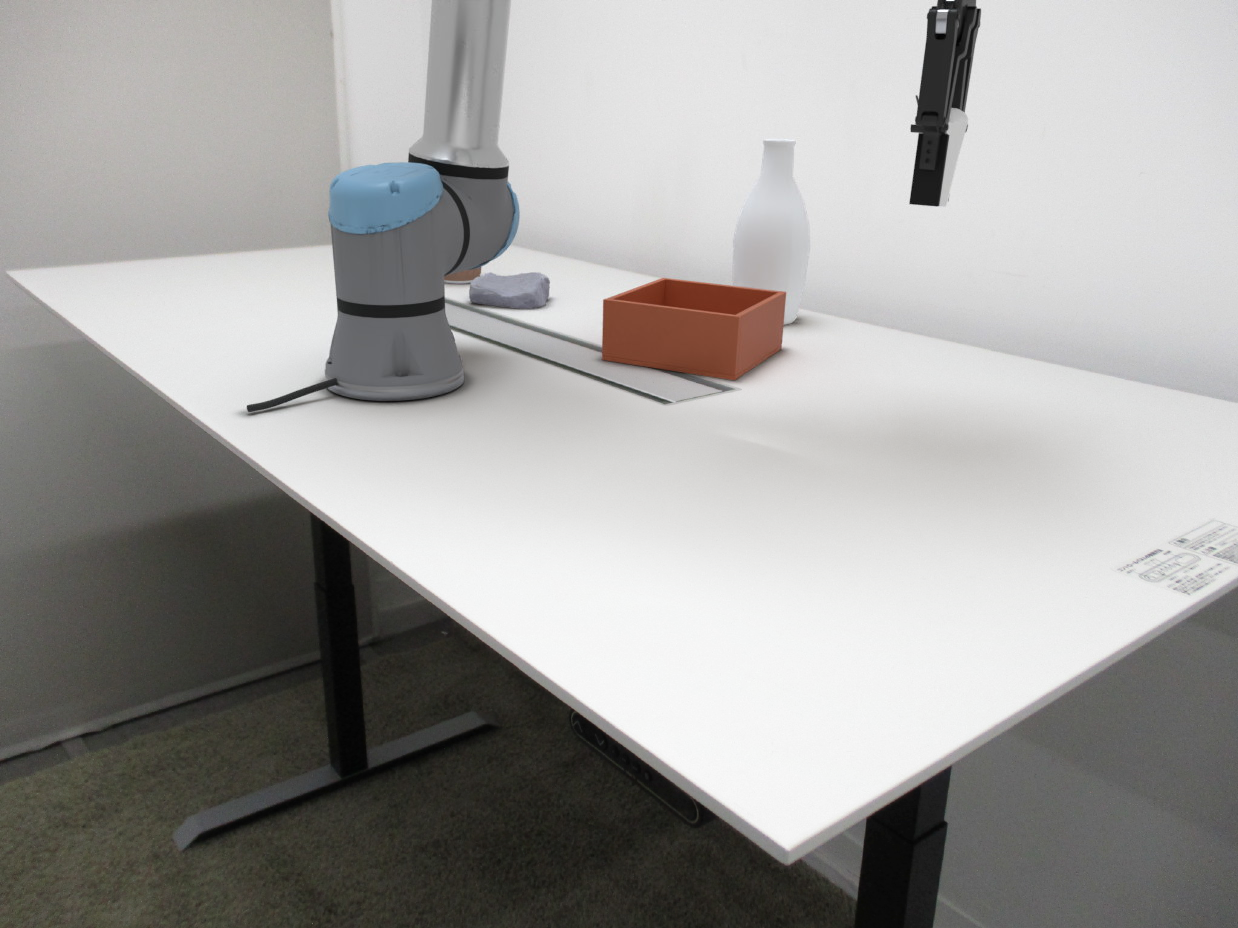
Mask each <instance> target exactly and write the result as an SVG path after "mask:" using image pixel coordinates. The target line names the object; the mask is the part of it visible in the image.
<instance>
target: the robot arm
mask: <svg viewBox="0 0 1238 928" xmlns="http://www.w3.org/2000/svg"><path fill="white" fill-rule="evenodd" d="M511 6H512V0H431V7H430V8H431V10H430V23H429V37H428V39H429V40H428V51H427V52H428V53H427V54H428V55H427V67H426V84H425V85H426V88H425V101H424V115H423V116H424V117H423V129H422V130H423V132H422V136H421V137H420V138H419V139H417V141H415V143H413V144H412V145H411V146H410V147H409V148H408V159H407V161H406V162H404V161H403V162H398V161H397V162H383V163H379V164H366V165H360V166H355V167H353V168H349V169H346V170H344V171H342V172H340V173H338V174H337V175H336V176H334V178H333V179H332V180H331V182H330V186H329V207H328V212H327V213H328V214H327V217H328V220H329V221H328V222H329V223H330V233H331V235H330V236H331V246H332V258H333V270H334V271H333V272H334V283H335V297H336V310H337V316H336V317H337V318H336V323H335V327H334V329H333V330H334V331H333V334H332V337H331V338H332V339H331V342H330V347H329V353H328V358H327V359H326V362H325V369H324V378H325V380H324V381H321V382H318V383H315V384H312V385H309V386H306V387H303V388H300V389H297V390H295V391H291V392H289V393H287V394H283V395H282V396H278V397H275V398H273V399H269V400H266V401H261V402H256V403H250V404H247V405H246V410H247V413H253V412H258V411H263V410H267V409H271V408H275V407H278V406H280V405H284V404H287V403H289V402H291V401H294V400H296V399H299V398H302V397H304V396H307V395H310V394H314V393H317V392H319V391H323V390H326V389H328V390H329V391H330V392H332V393H334V394H337V395H340V396H342V397H345V398H351V399H356V400H364V401H377V402H378V401H379V402H395V401H397V402H399V401H412V400H419V399H420V400H421V399H426V398H430V397H431V398H432V397H436V396H440V395H444V394H447V393H450V392H452V391H454V390H456V389H458V388H459V387H460V386H462V385H463V383H464V382H465V366H464V362H463V358H462V356H461V355H460V353H459V350H458V347H457V343H456V339H455V336H454V333H453V331H452V329H451V326H450V325H451V324H450V323H449V320H448V317H447V311H446V296H445V295H446V291H445V282H444V276H447V275H451V274H454V273H458V272H461V271H465V270H473V269H476V268H479V267H481V266H482V267H484V266H486V265H488V264H489V263H490V262H492V261H494V260H496V259H498V258H499V257H500V256H502V255H503V254H504V253H505V252H506V251H507V250H508V249H509V247H510V246H511V245H512V243H513V242H514V240H515V238H516V235H517V232H518V230H519V226H520V216H521V215H520V212H521V211H520V203H519V200H518V195H517V193H516V192H515V191H514V190H513V188H512V184H511V183H510V181H509V171H510V159H508V158H507V156H506V155H505V153H504V152H503V151H502V149H501V148H500V146H499V138H500V125H501V116H502V107H503V106H502V105H503V96H504V95H503V93H504V84H505V83H504V82H505V73H506V72H505V71H506V62H507V61H506V60H507V52H508V42H509V41H508V38H509V31H510V18H511ZM981 18H982V8H981V7H980V8H978V6H977V0H937V1H936V5H933V6H931V8H929V9H928V12H927V13H926V19H927V21H926V35H925V36H926V37H925V45H924V46H925V47H924V53H923V60H922V61H923V62H922V68H921V77H920V87H919V93H918V105H917V108H916V116H915V118H914V121H915V122H914V124H913V123H912V124H910V133H917V143H916V151H915V156H914V157H915V159H914V166H913V174H912V181H911V187H910V195H909V202H908V204H909V205H915V206H922V205H925V206H924V207H931V206H937V207H936V208H939V207H938V206H939V204H940V197H941V190H942V183H943V177H944V170H945V163H946V156H947V149H948V142H949V135H944V134H946V133H947V130H948V128H949V125H948V123H949V117H950V112H951V108H957V109H960V110H961V111H963V112H964V113H965V114H966V108H967V101H968V95H969V90H970V89H969V88H970V81H971V76H972V75H971V74H972V68H973V62H974V56H975V55H974V54H975V49H976V43H977V39H978V34H979V28H980V27H981ZM968 127H969V124H967V128H966V131H965V134H966V133H967V132H968ZM918 133H919V135H918ZM950 195H951V193H950V194H949V196H950ZM949 201H950V197H949V198H948V202H949ZM482 267H481V268H482Z"/></svg>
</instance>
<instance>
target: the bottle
mask: <svg viewBox="0 0 1238 928" xmlns="http://www.w3.org/2000/svg"><path fill="white" fill-rule="evenodd" d="M762 144H763V150H762V151H763V152H762V160H761V167H760V175H759V176H758V178H757V180H756V182H754V185H753V186H752V188H751V190H749V192H748V194H747V195H746V197H745V199H744V202H743V205H742V206H741V210H740V213H739V215H738V218H737V221H736V225H735V230H734V235H733V239H732V271H731V272H732V275H731V277H732V280H731V281H732V286H739V287H748V288H756V289H765V290H774V291H782V292H786V302H785V314H784V326H785V325H790V324H793V322H795V321H796V319H797V318H798V315H799V310H800V307H801V302H802V299H803V294H804V290H805V286H806V280H807V273H808V265H809V259H810V251H811V235H810V232H811V231H810V222H809V216H808V212H807V207H806V203H805V200H804V198H803V196H802V194H801V191H800V189H799V187H798V184H797V182H796V179H795V177H794V162H795V161H794V160H795V147H796V146H795V145H796V144H797V143H796V140H795V139H786V138H763V140H762Z"/></svg>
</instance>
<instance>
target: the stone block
mask: <svg viewBox="0 0 1238 928" xmlns="http://www.w3.org/2000/svg"><path fill="white" fill-rule="evenodd" d="M550 284H551V282H550V278H549V277H548V276H547V275H546V274H543V273H542V272H539V271H534V272H525V273H517V274H515V275H514V274H513V275H511V274H509V275H500V274H495V273H493V272H487V273H486V272H485V273H484V274H483V275H480V277H476V278H475V279H474V280H473V281H472V283H469V290H468V295H469V296H468V297H469V302H471V303H474V304H479V305H486V306H487V305H488V306H494V307H502V308H513V309H521V310H525V309H536V308H540V307H544V306H546V305H547V304H546V303H547V301H548V299H549V296H550Z"/></svg>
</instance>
